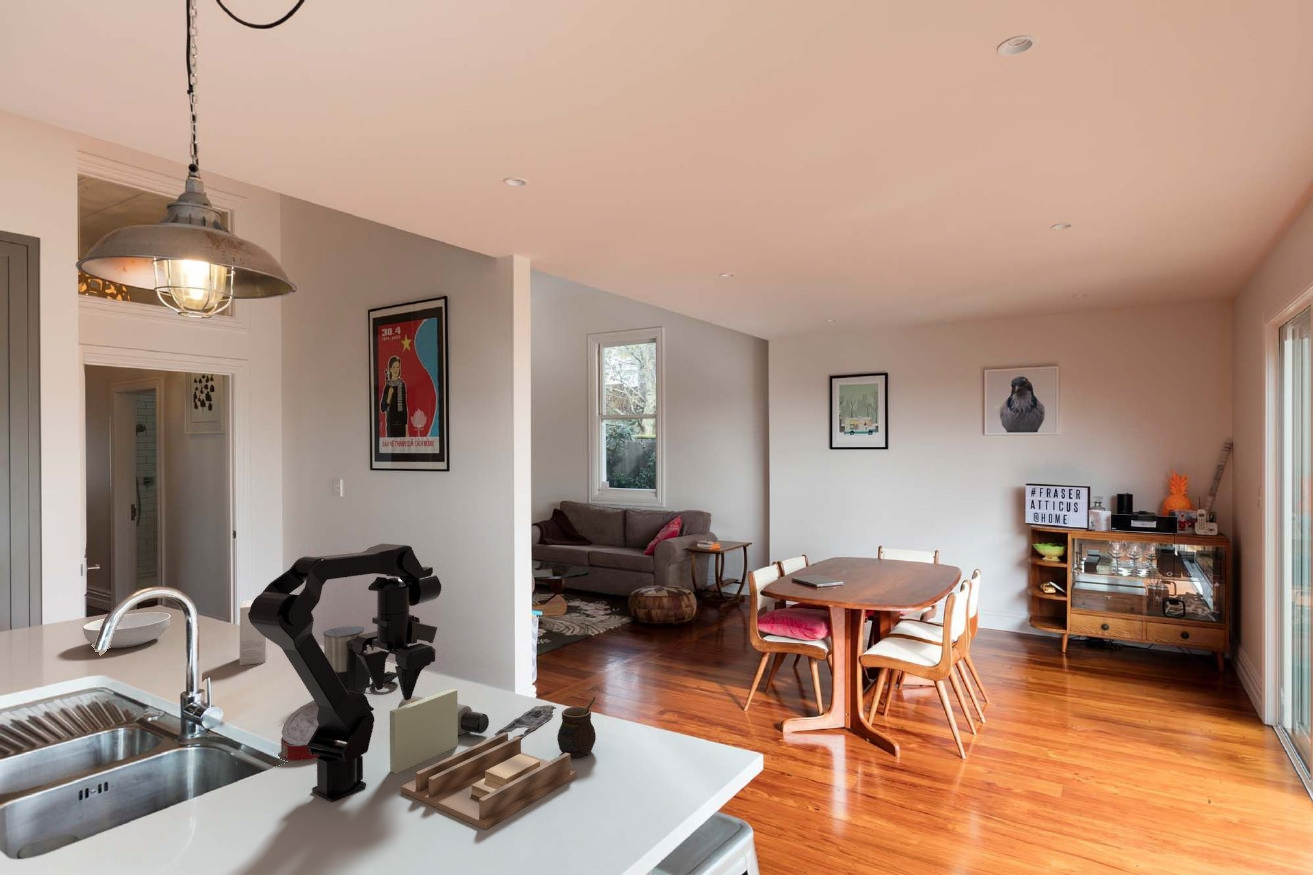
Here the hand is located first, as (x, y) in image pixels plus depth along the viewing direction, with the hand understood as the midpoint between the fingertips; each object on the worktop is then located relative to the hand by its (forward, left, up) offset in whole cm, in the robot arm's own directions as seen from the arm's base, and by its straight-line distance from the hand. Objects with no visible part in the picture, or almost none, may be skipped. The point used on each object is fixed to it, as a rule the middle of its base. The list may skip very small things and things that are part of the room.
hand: (393, 694), depth 138 cm
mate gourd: (+21, -27, -12) cm, 36 cm away
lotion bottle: (+12, +13, -9) cm, 20 cm away
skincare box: (+15, +83, -12) cm, 85 cm away
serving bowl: (+2, +130, -12) cm, 131 cm away
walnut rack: (+3, -23, -12) cm, 26 cm away
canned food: (-7, +17, -12) cm, 22 cm away
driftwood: (+25, -9, -13) cm, 30 cm away
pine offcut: (+3, -27, -11) cm, 30 cm away
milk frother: (+19, +38, -12) cm, 44 cm away
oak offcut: (+4, -27, -10) cm, 29 cm away
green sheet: (+3, -5, -12) cm, 13 cm away
